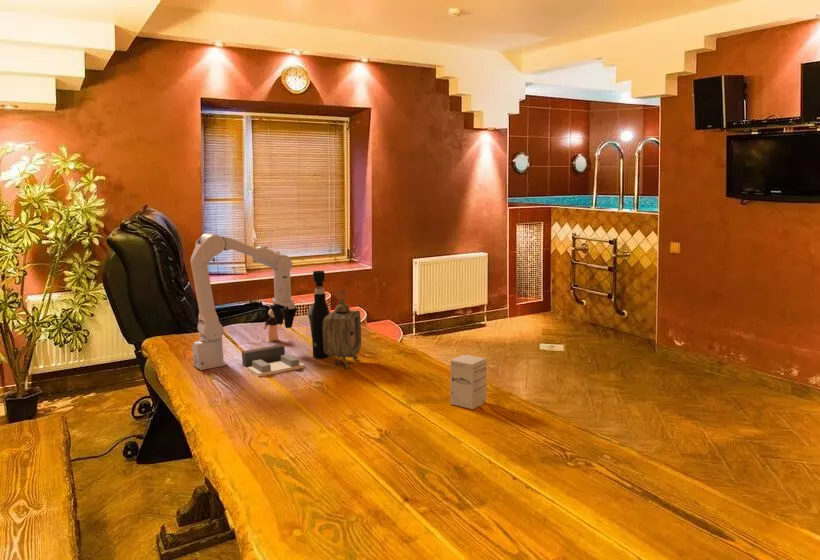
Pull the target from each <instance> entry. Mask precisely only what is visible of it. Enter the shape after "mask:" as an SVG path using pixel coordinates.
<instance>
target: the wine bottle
mask: <svg viewBox="0 0 820 560" xmlns="http://www.w3.org/2000/svg"><path fill="white" fill-rule="evenodd" d="M312 275H313V279H312V280H313V282H315V288H314V293H313V297H314V298H313V299H314V300H313V301H314V302H313V304H314V305H313V304H312V305H313V309H312V315H311V322H312V335H311V340H312V342H311V343H312V345H311V346H312V357H313V358H314V359H317V360H323V359H324V360H325V359H329V358H331V357H332V356H328V355H327V354H325V353H324V347H323V319H324V318H325V317H326V316H327V315H328V314H330V310H329V307H328V305H327V301H326V293H325V288H324V282H325V281H326V275H325V271H324V270H314V271H312Z"/></svg>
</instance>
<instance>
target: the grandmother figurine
mask: <svg viewBox="0 0 820 560" xmlns="http://www.w3.org/2000/svg"><path fill="white" fill-rule="evenodd" d="M267 314H268V315H269V318H267V320H266V322H265V323H264V327H263V329H264V330H267V327H268V334H267V336H268V340H267V343H274V342H279V341H280V339H279V334H278V325H279V327H281V326H283V324H278V325H277V323H276V320H275V317H274V314H273V311H272V309H271V308H270V309H269V310H268V312H267ZM278 340H279V341H278Z"/></svg>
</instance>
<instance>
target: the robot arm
mask: <svg viewBox="0 0 820 560" xmlns="http://www.w3.org/2000/svg"><path fill="white" fill-rule="evenodd" d="M231 250H233V251H235V252H239V253H241V254H244V255H247V256H250V257H251V258H252V261H254V262H255V263H258V264H260V265H263V266H265V267H269V268H272V269H273V288H274V297H272V298H271V301H272V304H271V305H269V308H270V309H272V311H273V314H274V317H275V320H276V323H277V326H278V325H279V324H282V325H283V323H284V327H285V329H290V328H293V323H294V320H295V319H294V318H295V315H296V313H297V312H298V308H297V307H296V305H295V299H294V298H292V289H291V285H292V284H291V283H292V282H291V269H292V267H293V262H292V260H291V258H290V257H289V256H288V255H285V254H281V253H280V251H278V250H276V251H274V250H272V249H270V248H268V246H266V245H259V246H256V247H254V246H252V245H249V244H247V243H244V242H242V241H240V240H238V239H234V238H231V237H227V236H222V235H219V234H213V233H210V232H209V233H208V232H207V233H204V234H202V235H201V236H200V237H199V238H198V239H197V240H196V241H195V246H194V249H193V250H192V251H193V252H192V254H191V257H190V259H189V260H190V266H191V267H190V268H191V272H192V273H191V275H192V278H193V283H194V289H195V295H196V300H197V306H198V323H197V327H196V328H197V331H198V333H199V334H200V337H199V340H197V341H194V342H192V346H191V347H192V361H193V363H192V366H194V367H195V368H196V369H198V370H199V369H200V370H199V371H203V370H209V369H215V368H219V367H224V366H228V365H229V363H228V362H226V361H224V360H225V358H224V348H223V347H224V345H223V334H224V327H223V325H222V323H221V322H220V319H219V316H218V314H217V311H216V307H215V302H214V296H213V290H212V284H211V279H210V273H209V266H208V265H209V263H210V262H211V261H212V260H213V259H214V258H215V257H217V256H218V255H220V254H221V253H222V252H223V251H225V252H228V251H231Z"/></svg>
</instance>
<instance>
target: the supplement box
mask: <svg viewBox="0 0 820 560" xmlns="http://www.w3.org/2000/svg"><path fill="white" fill-rule="evenodd" d="M487 360H488V359H487V358H483V357H479V356H474V355H470V354H469V355H468V354H462V355H459V356H457V357H455V358H452V359H450V362H449V363H450V372H449V373H450V379H449V380H450V392H449V393H450V394H449V395H450V397H449V398H450V400H449V401H450V405H451V404H452V405H453V406H457V407H461V408H465V409H469V410H472V409H473V410H474V408H475V409H477V408H479V407H481V406H482V405H484V404H486V403H487ZM485 402H486V403H485ZM483 403H484V404H483ZM481 404H482V405H481ZM478 406H479V407H478ZM476 407H477V408H476Z"/></svg>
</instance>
